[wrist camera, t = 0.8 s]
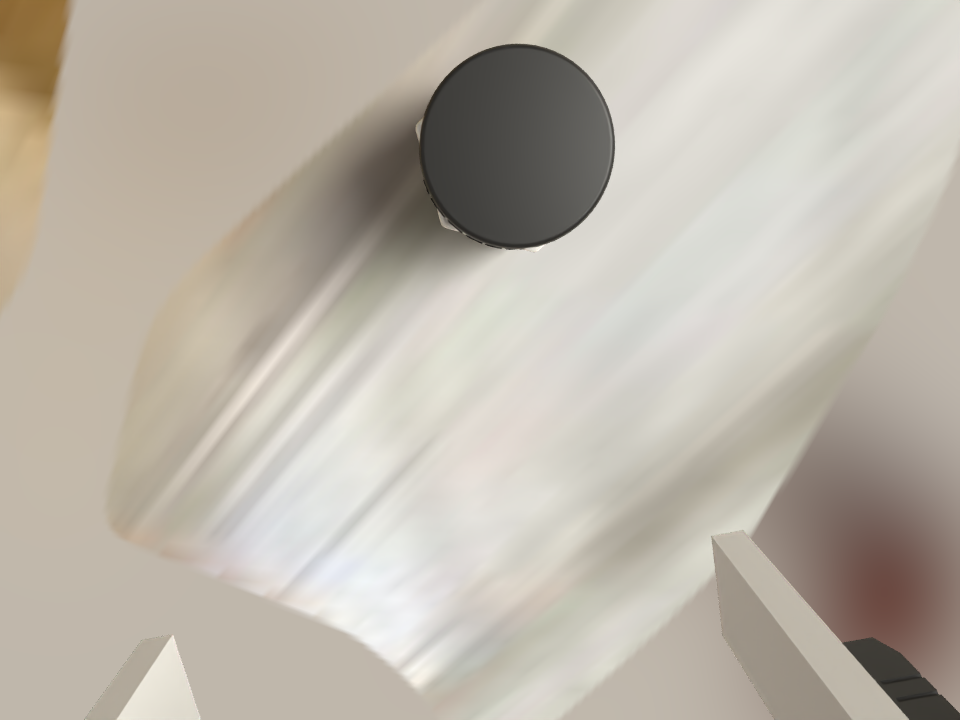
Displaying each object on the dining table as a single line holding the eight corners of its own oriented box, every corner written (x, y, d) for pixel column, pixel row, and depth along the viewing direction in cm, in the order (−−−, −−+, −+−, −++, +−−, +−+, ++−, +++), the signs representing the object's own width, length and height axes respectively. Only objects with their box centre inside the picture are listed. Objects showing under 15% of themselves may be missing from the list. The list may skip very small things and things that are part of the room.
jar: (408, 216, 39) (387, 218, 28) (443, 74, 38) (436, 12, 26) (553, 256, 40) (591, 275, 28) (593, 119, 39) (652, 79, 27)
